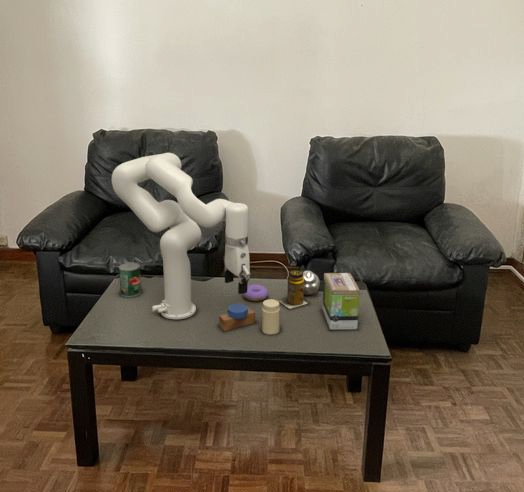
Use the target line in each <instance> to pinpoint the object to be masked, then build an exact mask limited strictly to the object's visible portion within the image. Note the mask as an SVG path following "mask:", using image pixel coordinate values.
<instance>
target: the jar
mask: <svg viewBox="0 0 524 492" xmlns="http://www.w3.org/2000/svg"><path fill="white" fill-rule="evenodd" d="M280 312H281V307H280V302H279V300H276V299H273V298H272V299H271V298H270V299H269V298H268V299H264V300H263V302H262V307H261V331H262V333H263V334H266V335H275V334H278V333H279V332H280V328H281V327H280V325H281V321H280V320H281V319H280V318H281V313H280Z"/></svg>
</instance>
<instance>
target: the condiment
mask: <svg viewBox="0 0 524 492" xmlns="http://www.w3.org/2000/svg"><path fill="white" fill-rule="evenodd" d="M303 272H304V271H301V270H297V269H293V270H290V271H289V272H288V279H287V298H284V299H280V300H278V302H279V304H282V305H283V306H285V307H286V308H288V309H289V310H291V309H294V308H297V307H302V306H305V305H307V304H308V302H307V301H305V300H304V295H305V294H304V279H303Z"/></svg>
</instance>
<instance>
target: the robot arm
mask: <svg viewBox="0 0 524 492" xmlns="http://www.w3.org/2000/svg"><path fill="white" fill-rule="evenodd" d="M148 180H153V181H154V182H155V183H156V184H158V185H159V186H160V187H161V188H162V189H164V190H165V191H166V192H168V193H169V194H171V195H172V196H173V197H175V198H176V200H177V202H176V201H175V200H172V199H164V200H161V201H158V200H157V199H155V198H154V196H152V194H151V192H149V191H148V190H146V189H144V188H143V187H141V186H139V185H138V184H140V183H143V182H145V181H148ZM193 182H194V180H193V178H192V177H191V176H190V175H189V174H187V173H186V172H185V171H183V170H182V161H181V159H180V158H179V156H178V155H176V154H175V153H172V152H164V153H159V154H152V155H147V156H141V157H138V158H135V159H132V160H131V159H130V160H128V161H126V162H125V161H124V162H122V163H121V164H118V166H115V168H114V169H113V171H112V173H111V185H112V188H113V191H114V192H115V194H116V195H117V197H118V198H119V199H120V200H121V201H122V202H123V203H125V204H126V205H127V207H128V208H129V209H130V210H131V211H132V212H133V213H134V214H135V215H136V217H137V218H138V220H139V221H141V222H142V223H143V225H144V226H145V227H146V228H147V229H148V230H149V231H150V232H152V233H159V232H163V231H164V230H166V229H168V228H169V229H168V230H167V231H165V232H164V233H163V235H162V236H161V237H160V240H159V248H160V253H161V257H162V268H163V285H164V286H163V289H164V290H163V291H164V299H162V300H161V303H159V304H155V305H151V311H152V312H156V311H157V313H158V314H161V316H162V317H164V318H165V319H168V320H185V319H188V318H190V317H192V316H194V315H195V314H196V312H197V307H196V304H195V303H193V302H192V271H191V261H190V258H189V256H188V251H189V250H190V249H192V248H194V247H196V245H198V243H200V241H201V239H202V230H201V228H200V227H203V228H205V229H211V228H214V227H216V226H217V225H219V224H220V223H223V222H225V241H224V243H225V247H224V250H225V251H224V255H223V256H222V260H223V267H224V268H223V270H224V283H225V284H229V283H233V282H234V279H235V276H236V277H237V278H238V281H239V282H238V283H237V284H238V286H237V294H238V295H243V293H247V286H248V284H249V281H250V277H251V272H250V271H251V270H250V269H251V265H250V263H251V262H250V251H249V246H248V245H249V217H250V215H249V213H250V211H249V206H248V205H247V204H245V203H242V202H232V201H230V200H228V199H224V198H216V199H214V200H212V201H209V202H208V203H204V202H203V201H202V200H200V199H199V198H197V196H196V195H195V194H194V193H193V191H192V187H193V184H194V183H193ZM199 226H200V227H199ZM234 275H235V276H234Z"/></svg>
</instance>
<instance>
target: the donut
mask: <svg viewBox="0 0 524 492" xmlns="http://www.w3.org/2000/svg"><path fill="white" fill-rule="evenodd" d="M242 295H243V297H244V299H246V300H248V301H249V302H262V301H265V300H267V298H268V296H269V291H268V288H267V287H265V286H263V285H260V284H249V285H247V293H243V294H242Z"/></svg>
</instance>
